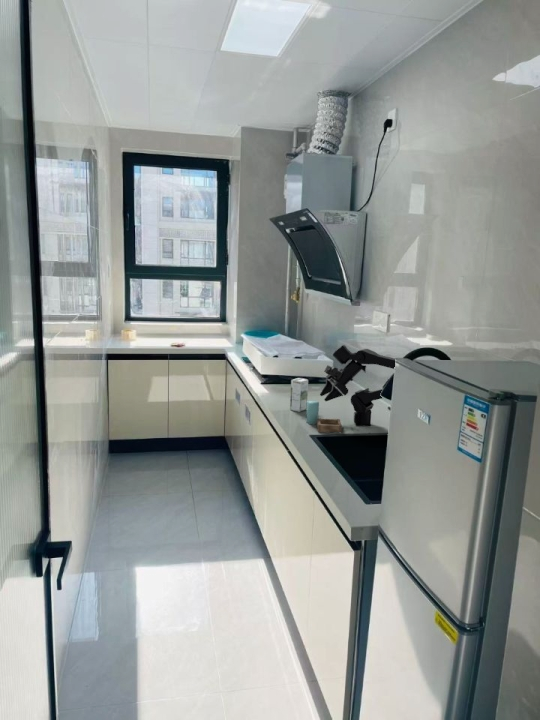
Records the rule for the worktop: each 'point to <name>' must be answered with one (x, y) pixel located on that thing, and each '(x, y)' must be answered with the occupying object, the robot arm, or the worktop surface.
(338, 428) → the collar
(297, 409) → the syrup box
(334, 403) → the worktop surface
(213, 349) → the worktop surface
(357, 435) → the worktop surface
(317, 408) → the peg
